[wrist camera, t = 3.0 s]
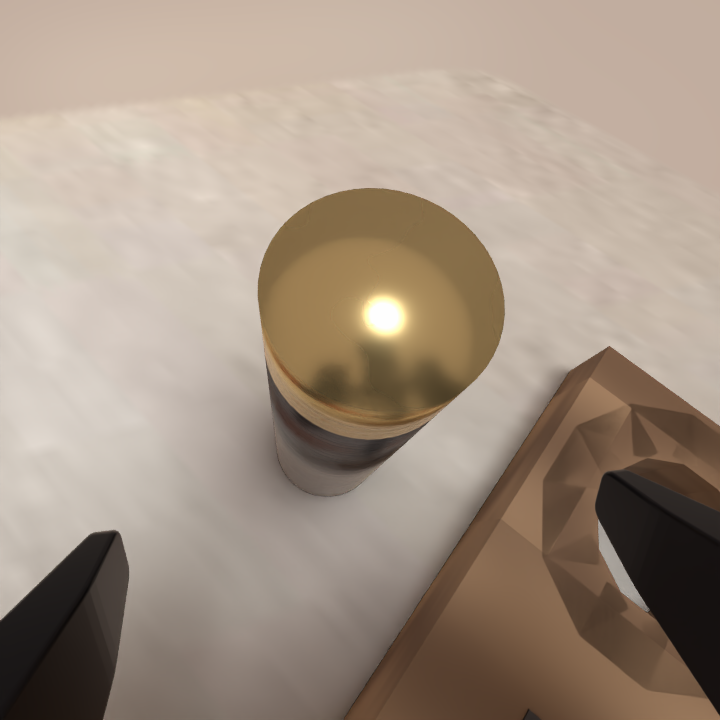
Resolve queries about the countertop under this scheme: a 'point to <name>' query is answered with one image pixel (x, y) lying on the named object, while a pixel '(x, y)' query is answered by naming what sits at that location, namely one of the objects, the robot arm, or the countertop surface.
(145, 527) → the countertop surface
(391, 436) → the grey and gold cylinder
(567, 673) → the socket plate
